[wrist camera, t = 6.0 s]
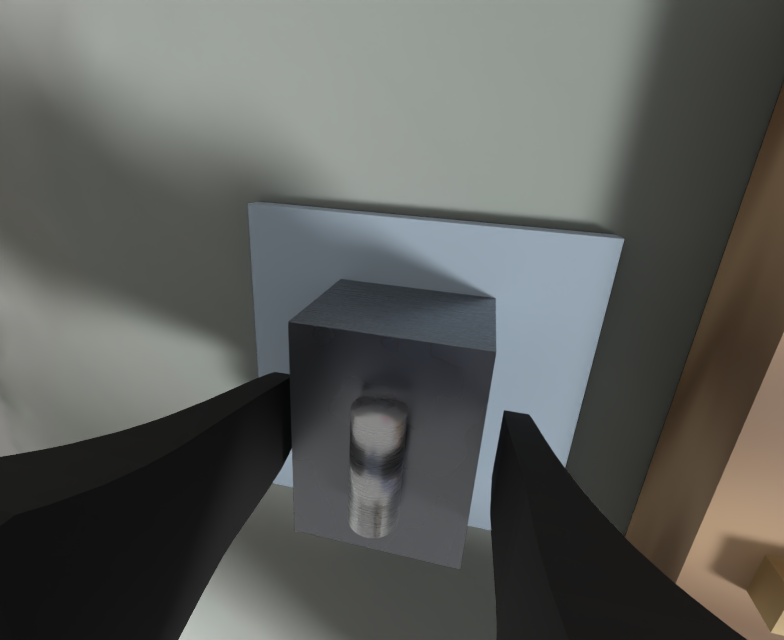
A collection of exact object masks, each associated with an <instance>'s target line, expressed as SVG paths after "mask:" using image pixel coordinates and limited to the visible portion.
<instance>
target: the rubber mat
mask: <svg viewBox="0 0 784 640" xmlns="http://www.w3.org/2000/svg"><path fill="white" fill-rule="evenodd" d="M248 218H249V234H250V250H251V267H252V283H253V299H254V315H255V331H256V347H257V363H258V378H259V377H262V376H264V375H267V374H269V373H273V372H279V373H285V374H290V370H289V338H288V321H290V320H291V319H292V318H293V317H295V316H296V315H297V314H298V313H299V312H301V311H302V310H303V309H304V308H306V307H307V306H308V305H309V304H310V303H312V302H313V301H314V300H315V299H317V298H318V297H319V296H320V295H322V294H323V293H324V292H325V291H326V290H328V289H329V288H330V287H331V286H333V285H334V284H335V283H336V282H337V281H339V280H340V279H345V280H353V281H361V282H370V283H378V284H386V285H394V286H402V287H410V288H418V289H426V290H434V291H442V292H451V293H459V294H467V295H475V296H483V297H491V298H496V358H495V364H494V370H493V376H492V382H491V388H490V394H489V400H488V406H487V412H486V418H485V424H484V430H483V436H482V442H481V448H480V454H479V460H478V466H477V472H476V478H475V484H474V490H473V496H472V502H471V508H470V514H469V520H468V526H472V527H477V528H481V529H486V530H491V520H490V503H491V483H492V472H493V467H494V461H495V456H496V450H497V445H498V439H499V434H500V429H501V423H502V418H503V412H504V410H506V411H512V412H518V413H524V414H529V415H530V416H531V417H532V419H533V420H534V422H535V424H536V425H537V427H538V428H539V430H540V432H541V433H542V435H543V436H544V438H545V440H546V441H547V443H548V444H549V446H550V447H551V449H552V450H553V452H554V453H555V455H556V456H557V458H558V459H559V460H560V462H561V463H562V465H563V466H564V467H565V466H566V463H567V459H568V455H569V451H570V447H571V443H572V439H573V436H574V432H575V428H576V424H577V420H578V416H579V412H580V409H581V405H582V401H583V397H584V393H585V389H586V385H587V382H588V378H589V374H590V370H591V366H592V362H593V358H594V355H595V351H596V347H597V343H598V339H599V335H600V331H601V328H602V324H603V320H604V316H605V312H606V308H607V304H608V301H609V297H610V293H611V289H612V285H613V281H614V277H615V274H616V270H617V266H618V262H619V258H620V254H621V250H622V247H623V243H624V238H622V237H620V236H619V235H614V234H603V233H592V232H581V231H571V230H560V229H549V228H538V227H527V226H516V225H506V224H495V223H484V222H473V221H462V220H452V219H441V218H430V217H419V216H408V215H397V214H387V213H376V212H365V211H354V210H343V209H333V208H322V207H311V206H300V205H289V204H279V203H268V202H254V203H249V204H248ZM273 483H274V484H279V485H283V486H288V487H292V488H293V468H292V449H291V451H290V454H289V456H288V458H287V459H286V461H285V463H284V465H283V467H282V469H281V471H280V472H279V474H278V475H277V477H276V478H275V480H274V481H273Z"/></svg>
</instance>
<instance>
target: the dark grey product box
mask: <svg viewBox="0 0 784 640" xmlns="http://www.w3.org/2000/svg"><path fill="white" fill-rule="evenodd" d="M288 338H289V370H290V403H291V436H292V468H293V501H294V530H295V531H299V532H303V533H307V534H312V535H316V536H320V537H324V538H328V539H333V540H337V541H341V542H345V543H350V544H354V545H358V546H362V547H367V548H371V549H375V550H379V551H383V552H388V553H392V554H396V555H400V556H405V557H409V558H413V559H417V560H421V561H426V562H430V563H434V564H438V565H443V566H447V567H451V568H455V569H460V568H461V562H462V556H463V550H464V544H465V538H466V532H467V526H468V520H469V514H470V508H471V502H472V496H473V490H474V484H475V478H476V472H477V466H478V460H479V454H480V448H481V442H482V436H483V430H484V424H485V418H486V412H487V406H488V400H489V394H490V388H491V382H492V376H493V370H494V364H495V358H496V298H491V297H483V296H475V295H467V294H459V293H451V292H442V291H434V290H426V289H418V288H410V287H402V286H394V285H386V284H378V283H370V282H361V281H353V280H345V279H340V280H339V281H337V282H336V283H335V284H334V285H333V286H331V287H330V288H329V289H328V290H326V291H325V292H324V293H323V294H322V295H320V296H319V297H318V298H317V299H315V300H314V301H313V302H312V303H310V304H309V305H308V306H307V307H306V308H304V309H303V310H302V311H301V312H299V313H298V314H297V315H296V316H295V317H293V318H292V319H291V320H290V321H288Z"/></svg>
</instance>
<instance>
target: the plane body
mask: <svg viewBox="0 0 784 640" xmlns="http://www.w3.org/2000/svg"><path fill="white" fill-rule="evenodd" d="M625 538H626V539H627V540H628V541H629V542H630V543H631V544H632V545H633V546H634V547H635V548H636V549H637V550H638V551H639V552H641V553H642V554H643V555H644V556H645V557H646V558H647V559H648V560H649V561H651V562H652V563H653V564H654V565H655V566H656V567H657V568H658V569H660V570H661V571H662V572H663V573H664V574H665V575H666V576H667V577H668V578H670V579H671V580H672V581H673V582H674V583H676V584H677V585H678V586H679V587H680V588H682V589H683V590H684V591H685V592H686V593H688V594H689V595H690V596H691V597H692V598H694V599H695V600H696V601H698V602H699V603H700V604H701V605H703V606H704V607H705V608H706V609H708V610H709V611H710V612H712V613H713V614H714V615H715V616H717V617H718V618H719V619H720V620H722V621H723V622H724V623H726V624H727V625H728V626H729V627H731V628H732V629H733V630H735V631H736V632H737V633H739V634H740V635H742V636H743V637H745V638H746V639H747V640H784V83H783V85H782V88H781V91H780V94H779V97H778V100H777V103H776V105H775V108H774V111H773V114H772V117H771V120H770V123H769V126H768V128H767V131H766V134H765V137H764V140H763V143H762V146H761V148H760V151H759V154H758V157H757V160H756V163H755V166H754V169H753V171H752V174H751V177H750V180H749V183H748V186H747V189H746V191H745V194H744V197H743V200H742V203H741V206H740V209H739V212H738V214H737V217H736V220H735V223H734V226H733V229H732V232H731V234H730V237H729V240H728V243H727V246H726V249H725V252H724V255H723V257H722V260H721V263H720V266H719V269H718V272H717V275H716V277H715V280H714V283H713V286H712V289H711V292H710V295H709V298H708V300H707V303H706V306H705V309H704V312H703V315H702V318H701V320H700V323H699V326H698V329H697V332H696V335H695V338H694V341H693V343H692V346H691V349H690V352H689V355H688V358H687V361H686V363H685V366H684V369H683V372H682V375H681V378H680V381H679V383H678V386H677V389H676V392H675V395H674V398H673V401H672V404H671V406H670V409H669V412H668V415H667V418H666V421H665V424H664V426H663V429H662V432H661V435H660V438H659V441H658V444H657V447H656V449H655V452H654V455H653V458H652V461H651V464H650V467H649V469H648V472H647V475H646V478H645V481H644V484H643V487H642V490H641V492H640V495H639V498H638V501H637V504H636V507H635V510H634V512H633V515H632V518H631V521H630V524H629V527H628V530H627V533H626V535H625Z"/></svg>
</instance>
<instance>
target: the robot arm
mask: <svg viewBox="0 0 784 640" xmlns="http://www.w3.org/2000/svg"><path fill="white" fill-rule="evenodd" d="M291 449H292V436H291V403H290V374H285V373H279V372H273V373H269V374H267V375H264V376H262V377H259V378H257V379H254V380H252V381H250V382H248V383H245V384H243V385H241V386H238V387H236V388H234V389H232V390H229V391H227V392H225V393H223V394H220V395H218V396H216V397H214V398H211V399H209V400H207V401H204V402H202V403H199V404H197V405H194V406H192V407H189V408H187V409H184V410H182V411H179V412H177V413H174V414H171V415H169V416H166V417H163V418H160V419H158V420H155V421H152V422H149V423H146V424H142V425H139V426H136V427H133V428H130V429H126V430H123V431H120V432H116V433H112V434H108V435H104V436H100V437H96V438H92V439H88V440H84V441H80V442H76V443H72V444H68V445H63V446H58V447H53V448H48V449H43V450H38V451H33V452H27V453H21V454H16V455H10V456H3V457H0V640H178V639H179V637H180V635H181V633H182V632H183V630H184V628H185V626H186V624H187V622H188V620H189V618H190V616H191V614H192V612H193V610H194V609H195V607H196V605H197V603H198V601H199V599H200V597H201V595H202V593H203V591H204V590H205V588H206V586H207V584H208V582H209V581H210V579H211V577H212V575H213V573H214V572H215V570H216V568H217V566H218V564H219V562H220V561H221V559H222V557H223V555H224V554H225V552H226V551H227V549H228V547H229V546H230V544H231V543H232V541H233V539H234V538H235V537H236V535H237V534H238V532H239V531H240V529H241V528H242V526H243V525H244V524H245V522H246V521H247V519H248V518H249V516H250V515H251V513H252V512H253V510H254V509H255V508H256V506H257V505H258V503H259V502H260V500H261V499H262V497H263V496H264V494H265V493H266V492H267V490H268V489H269V487H270V486H271V484H272V483H273V481H274V480H275V478H276V477H277V475H278V474H279V472H280V471H281V469H282V467H283V465H284V463H285V461H286V459H287V458H288V456H289V454H290V451H291ZM490 520H491V536H492V551H493V565H494V580H495V594H496V614H497V640H747V639H746V638H745V637H743V636H742V635H740V634H739V633H737V632H736V631H735V630H733V629H732V628H731V627H729V626H728V625H727V624H726V623H724V622H723V621H722V620H720V619H719V618H718V617H717V616H715V615H714V614H713V613H712V612H710V611H709V610H708V609H706V608H705V607H704V606H703V605H701V604H700V603H699V602H698V601H696V600H695V599H694V598H692V597H691V596H690V595H689V594H688V593H686V592H685V591H684V590H683V589H682V588H680V587H679V586H678V585H677V584H676V583H674V582H673V581H672V580H671V579H670V578H668V577H667V576H666V575H665V574H664V573H663V572H662V571H661V570H660V569H658V568H657V567H656V566H655V565H654V564H653V563H652V562H651V561H649V560H648V559H647V558H646V557H645V556H644V555H643V554H642V553H641V552H639V551H638V550H637V549H636V548H635V547H634V546H633V545H632V544H631V543H630V542H629V541H628V540H627V539H626V538H625V537H624V536H623V535H622V534H621V533H620V532H619V531H618V530H617V529H616V528H615V527H614V526H613V525H612V524H611V523H610V521H609V520H608V519H607V518H606V517H605V516H604V515H603V514H602V513H601V512H600V511H599V510H598V509H597V508H596V506H595V505H594V504H593V503H592V502H591V501H590V500H589V498H588V497H587V496H586V495H585V493H584V492H583V491H582V490H581V489H580V487H579V486H578V485H577V483H576V482H575V481H574V480H573V478H572V477H571V476H570V474H569V473H568V471H567V470H566V469H565V467H564V466H563V465H562V463H561V462H560V460H559V459H558V458H557V456H556V455H555V453H554V452H553V450H552V449H551V447H550V446H549V444H548V443H547V441H546V440H545V438H544V436H543V435H542V433H541V432H540V430H539V428H538V427H537V425H536V424H535V422H534V420H533V419H532V417H531V416H530V415H529V414H524V413H518V412H512V411H506V410H504V412H503V418H502V423H501V429H500V434H499V439H498V445H497V450H496V456H495V461H494V467H493V472H492V483H491V503H490Z"/></svg>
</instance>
